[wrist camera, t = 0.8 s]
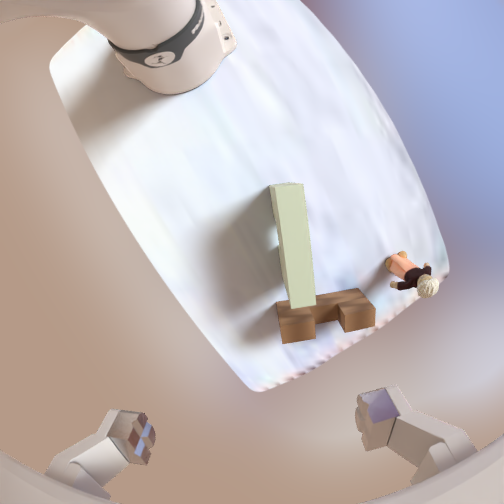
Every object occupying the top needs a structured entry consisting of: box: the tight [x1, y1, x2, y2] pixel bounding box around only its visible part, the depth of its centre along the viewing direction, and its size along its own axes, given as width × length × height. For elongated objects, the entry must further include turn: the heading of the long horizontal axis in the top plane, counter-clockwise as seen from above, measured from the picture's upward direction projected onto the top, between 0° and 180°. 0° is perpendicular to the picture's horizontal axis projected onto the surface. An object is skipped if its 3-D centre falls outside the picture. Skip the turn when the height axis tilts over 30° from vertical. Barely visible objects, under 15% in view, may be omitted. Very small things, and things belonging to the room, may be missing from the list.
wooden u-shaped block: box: [276, 288, 376, 344], centre depth 41 cm, size 14×3×8 cm, turn 99°
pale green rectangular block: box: [269, 183, 316, 309], centre depth 36 cm, size 14×3×12 cm, turn 9°
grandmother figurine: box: [385, 251, 439, 298], centre depth 37 cm, size 8×4×13 cm, turn 126°
